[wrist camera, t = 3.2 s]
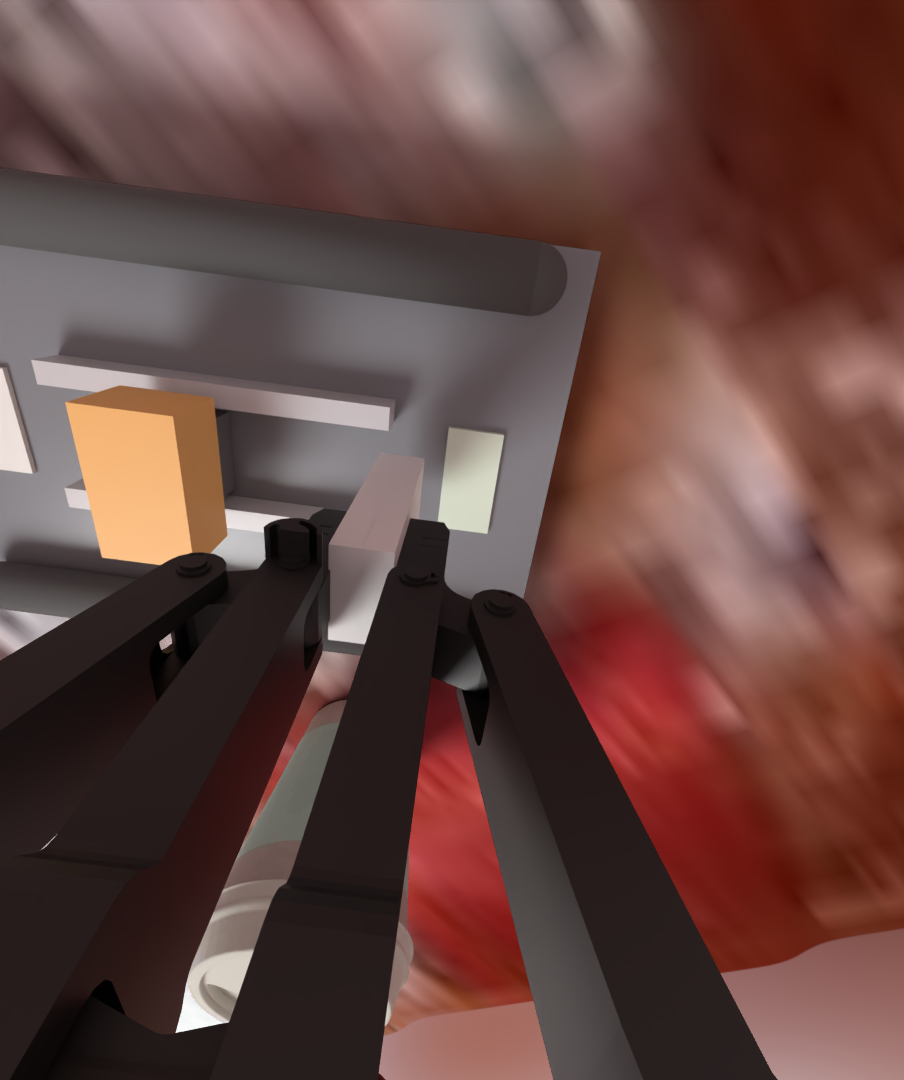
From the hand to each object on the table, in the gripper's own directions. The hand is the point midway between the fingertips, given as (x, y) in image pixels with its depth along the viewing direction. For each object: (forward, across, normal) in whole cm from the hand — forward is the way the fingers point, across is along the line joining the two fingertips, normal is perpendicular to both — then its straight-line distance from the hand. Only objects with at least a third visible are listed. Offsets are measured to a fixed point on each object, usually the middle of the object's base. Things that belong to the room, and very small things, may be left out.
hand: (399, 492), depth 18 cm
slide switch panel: (+4, -7, 0) cm, 8 cm away
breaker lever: (+2, -8, 0) cm, 8 cm away
